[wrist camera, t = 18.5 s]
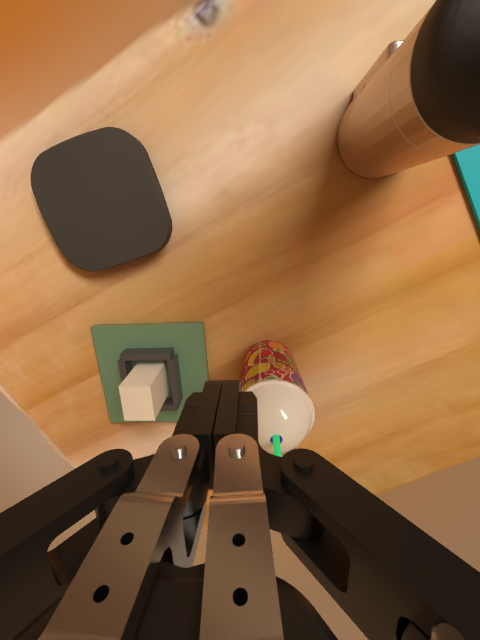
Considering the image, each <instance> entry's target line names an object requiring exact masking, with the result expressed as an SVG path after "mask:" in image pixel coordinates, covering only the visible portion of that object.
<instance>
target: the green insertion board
mask: <svg viewBox="0 0 480 640" xmlns="http://www.w3.org/2000/svg"><path fill="white" fill-rule="evenodd" d="M91 332H92V336H93V341H94V346H95V350H96V355H97V360H98V365H99V369H100V374H101V379H102V384H103V388H104V393H105V398H106V402H107V407H108V412H109V417H110V421H111V423H124V422H178V419H179V417H180V415H181V412H182V409H183V406H184V404H185V401H186V399H187V398H188V397H189V396H190V395H191V394H192V393H193V392H202V391H203V388H204V384H205V381H209V375H208V364H207V352H206V341H205V329H204V322H174V323H140V324H107V325H93V326H92V327H91ZM147 361H166V367H167V376H168V384H169V393H168V395H167V397H166V399H165V401H164V403H163V405H162V407H161V409H160V411H159V413H158V416H157V418H156V420H155V421H124V415H123V410H122V404H121V398H120V393H119V385H120V384H121V383H122V382H123V380H124V379H125V378H126V377H127V375H128V374H129V373H130V372H131V371H132V369H133V368H134V367H135V366H136V364H137V363H138V362H147Z"/></svg>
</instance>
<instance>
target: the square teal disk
mask: <svg viewBox="0 0 480 640" xmlns="http://www.w3.org/2000/svg"><path fill="white" fill-rule="evenodd" d="M452 156H453V159H454V161H455V164H456V167H457V170H458V173H459V175H460V178H461V181H462V184H463V186H464V189H465V192H466V195H467V197H468V200H469V203H470V206H471V208H472V211H473V214H474V217H475V219H476V222H477V225H478V228H479V230H480V145H477V146H474V147H471V148H468V149H465V150H462V151H459V152H456V153H453V154H452Z"/></svg>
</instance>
